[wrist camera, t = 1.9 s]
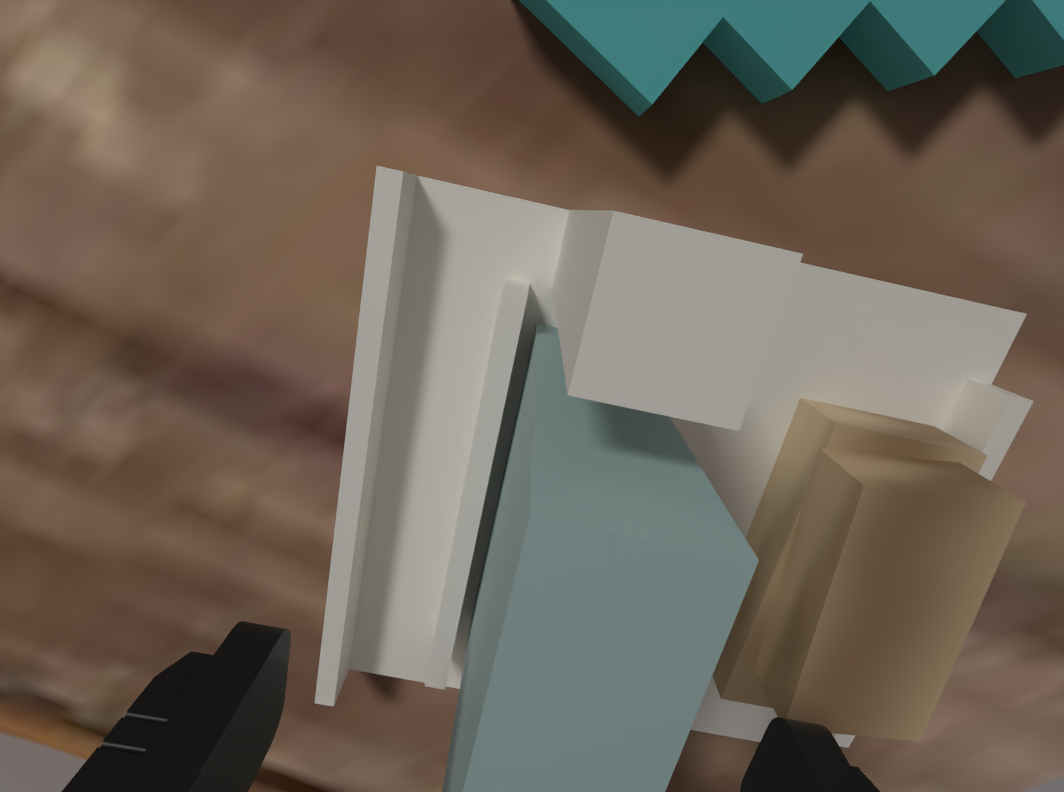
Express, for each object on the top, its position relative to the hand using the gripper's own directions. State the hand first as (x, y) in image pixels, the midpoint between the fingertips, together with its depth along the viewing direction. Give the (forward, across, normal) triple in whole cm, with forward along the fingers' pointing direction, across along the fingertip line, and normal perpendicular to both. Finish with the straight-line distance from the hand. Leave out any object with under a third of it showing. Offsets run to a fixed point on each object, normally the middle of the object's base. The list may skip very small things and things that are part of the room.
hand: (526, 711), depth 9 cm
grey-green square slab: (+8, 0, 0) cm, 8 cm away
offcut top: (+6, -9, 0) cm, 11 cm away
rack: (+9, -3, 0) cm, 10 cm away
